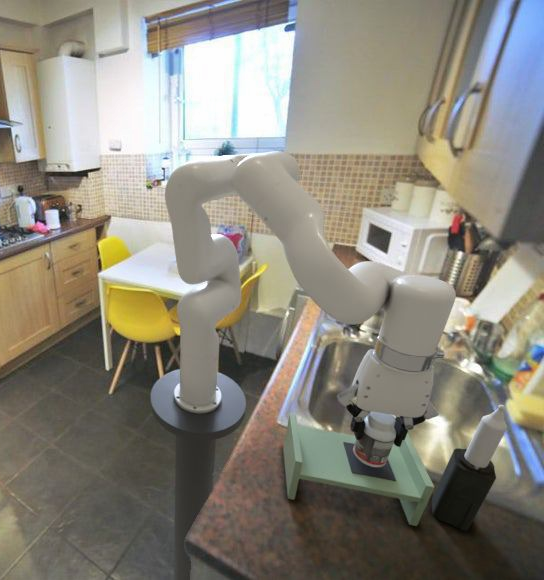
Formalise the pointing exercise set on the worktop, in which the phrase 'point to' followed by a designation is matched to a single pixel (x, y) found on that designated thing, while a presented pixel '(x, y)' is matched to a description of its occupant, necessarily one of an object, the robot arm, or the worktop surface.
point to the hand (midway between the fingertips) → (375, 436)
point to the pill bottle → (376, 439)
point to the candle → (469, 474)
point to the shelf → (355, 467)
